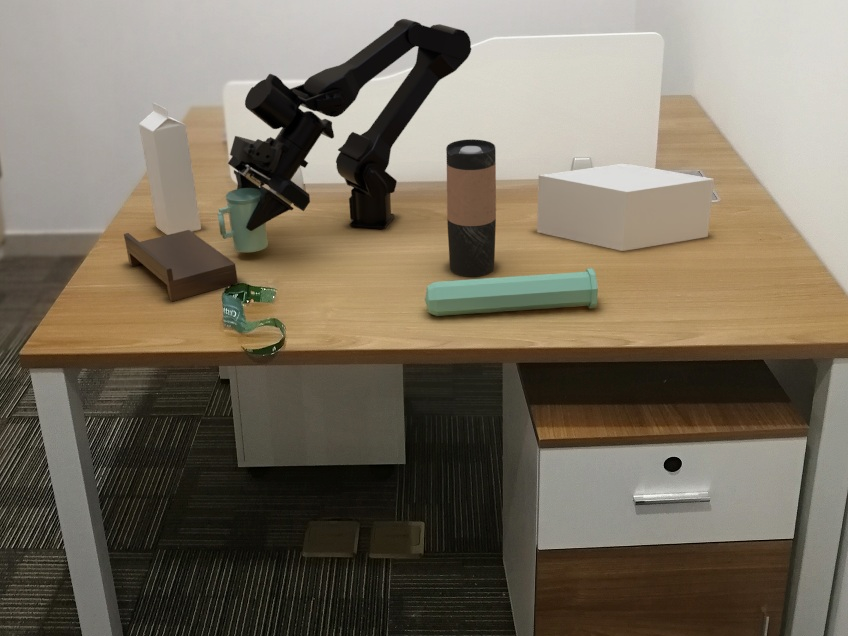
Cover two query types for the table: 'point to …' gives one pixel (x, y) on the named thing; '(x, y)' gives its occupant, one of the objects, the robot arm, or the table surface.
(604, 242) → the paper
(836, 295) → the table surface
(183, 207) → the milk
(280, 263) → the table surface
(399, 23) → the robot arm
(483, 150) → the travel mug
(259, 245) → the green mug
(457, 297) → the container
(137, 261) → the shelf
